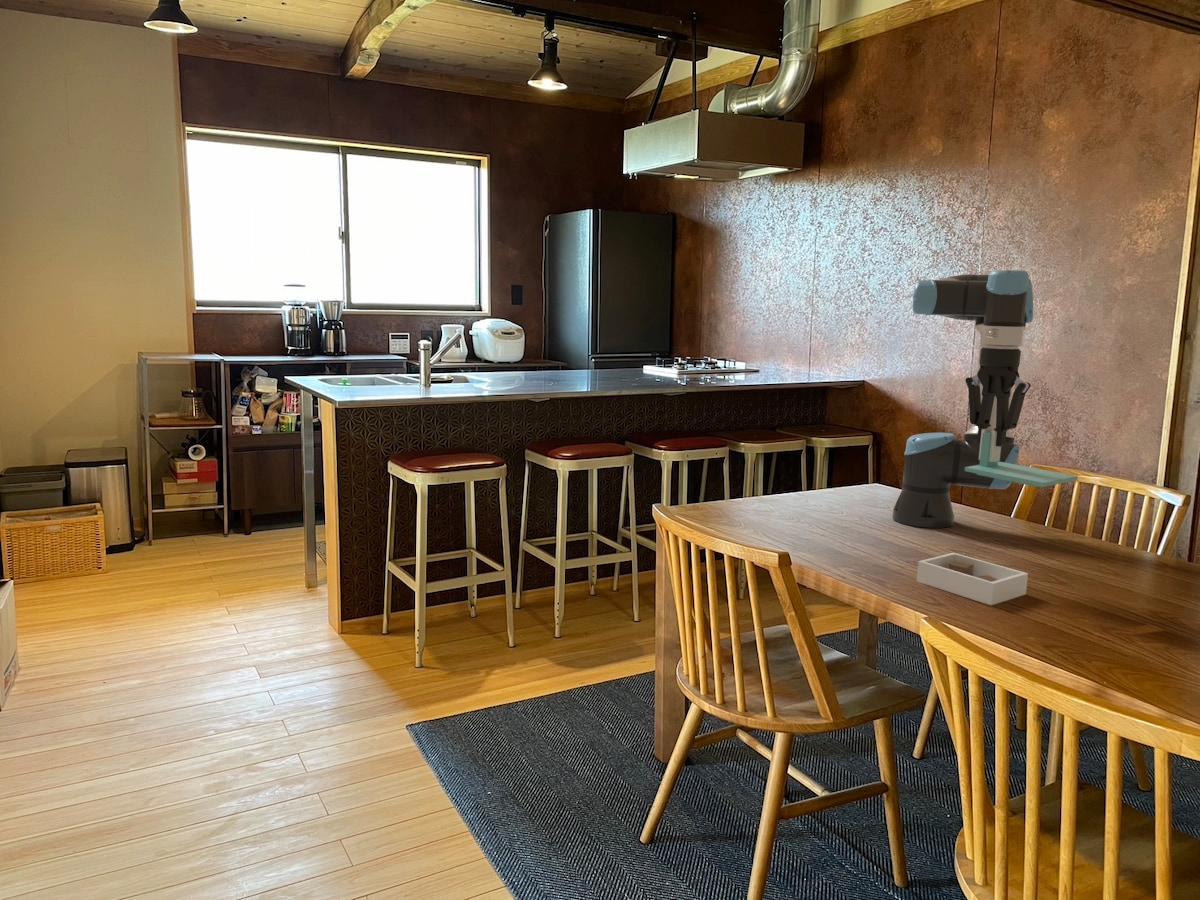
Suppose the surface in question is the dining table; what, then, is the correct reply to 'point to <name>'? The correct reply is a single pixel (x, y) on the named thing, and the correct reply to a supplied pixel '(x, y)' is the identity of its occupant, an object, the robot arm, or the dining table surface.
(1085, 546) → the dining table surface
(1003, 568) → the tub
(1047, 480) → the lid
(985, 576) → the walnut block
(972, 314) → the robot arm
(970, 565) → the walnut block
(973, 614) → the dining table surface
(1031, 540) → the dining table surface
